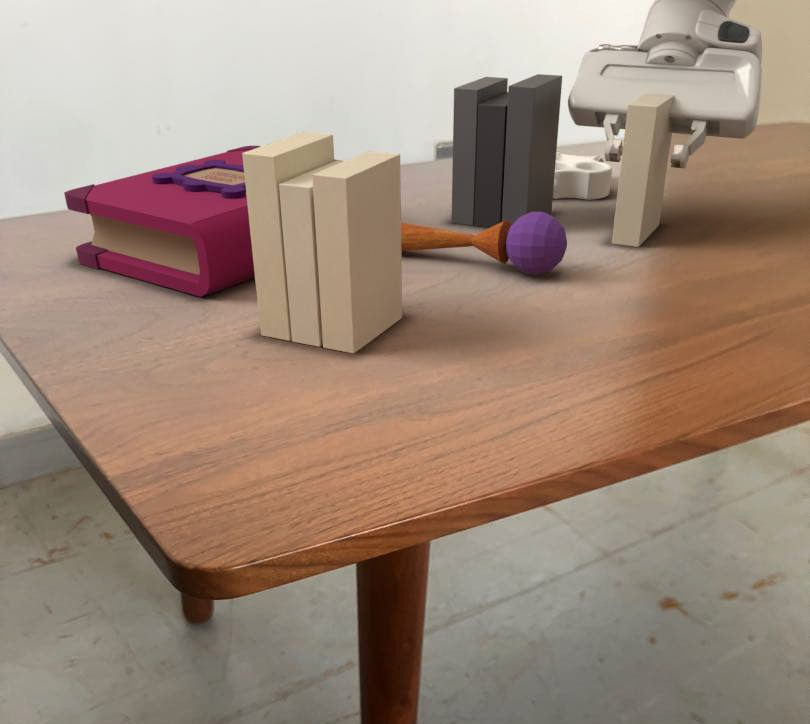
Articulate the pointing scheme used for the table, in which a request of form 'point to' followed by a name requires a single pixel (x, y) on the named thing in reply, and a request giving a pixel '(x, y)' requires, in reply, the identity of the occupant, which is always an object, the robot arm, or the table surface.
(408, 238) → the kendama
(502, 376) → the table surface
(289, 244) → the cream books
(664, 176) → the cream book
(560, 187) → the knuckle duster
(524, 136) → the grey books
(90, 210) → the book
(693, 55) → the robot arm
